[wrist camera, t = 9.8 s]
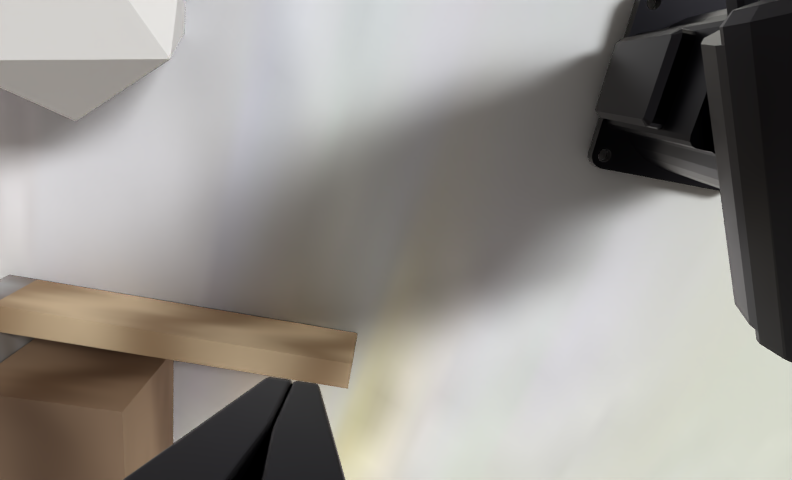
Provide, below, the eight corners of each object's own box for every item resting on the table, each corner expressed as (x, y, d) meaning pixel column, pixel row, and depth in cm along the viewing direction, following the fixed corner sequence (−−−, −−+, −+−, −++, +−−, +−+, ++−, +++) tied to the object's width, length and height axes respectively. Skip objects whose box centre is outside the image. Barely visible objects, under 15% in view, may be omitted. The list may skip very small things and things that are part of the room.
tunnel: (357, 333, 22) (350, 370, 19) (325, 511, 25) (316, 565, 23) (9, 274, 21) (-51, 305, 19) (25, 465, 25) (-24, 516, 22)
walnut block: (174, 348, 23) (122, 412, 18) (174, 450, 25) (126, 528, 20) (45, 330, 22) (-39, 390, 18) (54, 434, 24) (-19, 511, 20)
